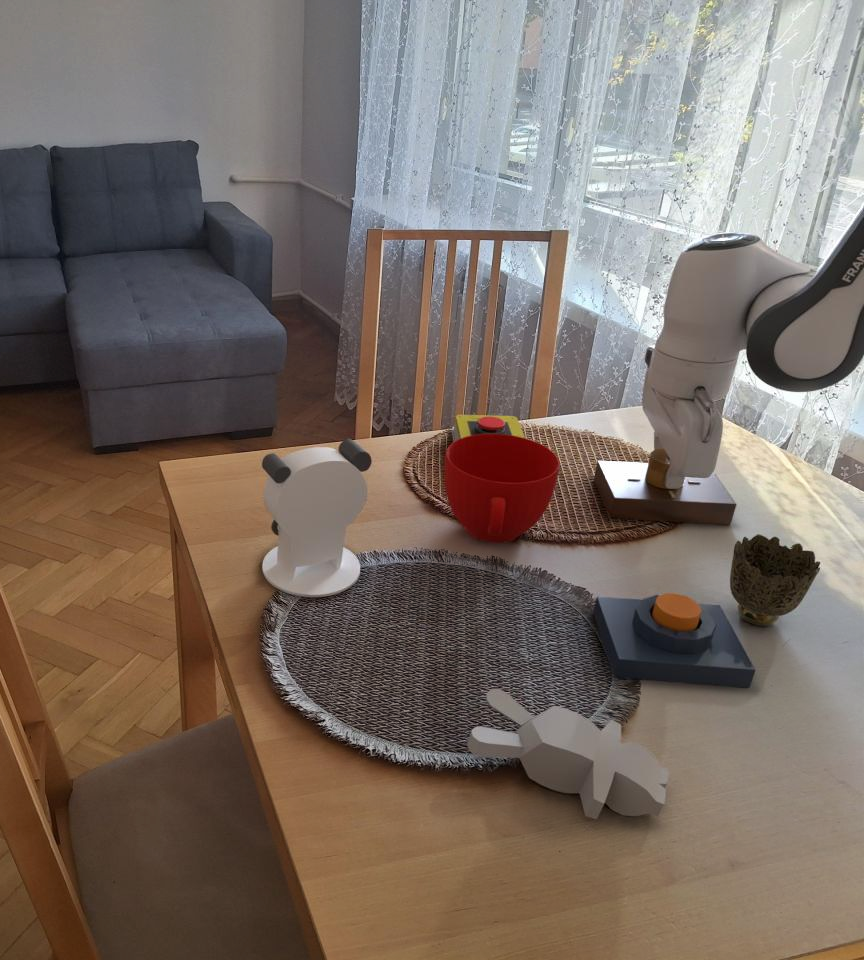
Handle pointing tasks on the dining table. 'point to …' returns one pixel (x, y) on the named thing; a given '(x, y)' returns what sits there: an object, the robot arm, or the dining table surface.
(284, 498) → the panda figurine
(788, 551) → the cup
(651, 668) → the switch box
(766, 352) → the robot arm
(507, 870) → the dining table surface
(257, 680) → the dining table surface
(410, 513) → the dining table surface
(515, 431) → the emergency button
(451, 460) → the ceramic cup
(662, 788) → the bunny figurine
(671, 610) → the light button
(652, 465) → the dimmer knob
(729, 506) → the dimmer panel
